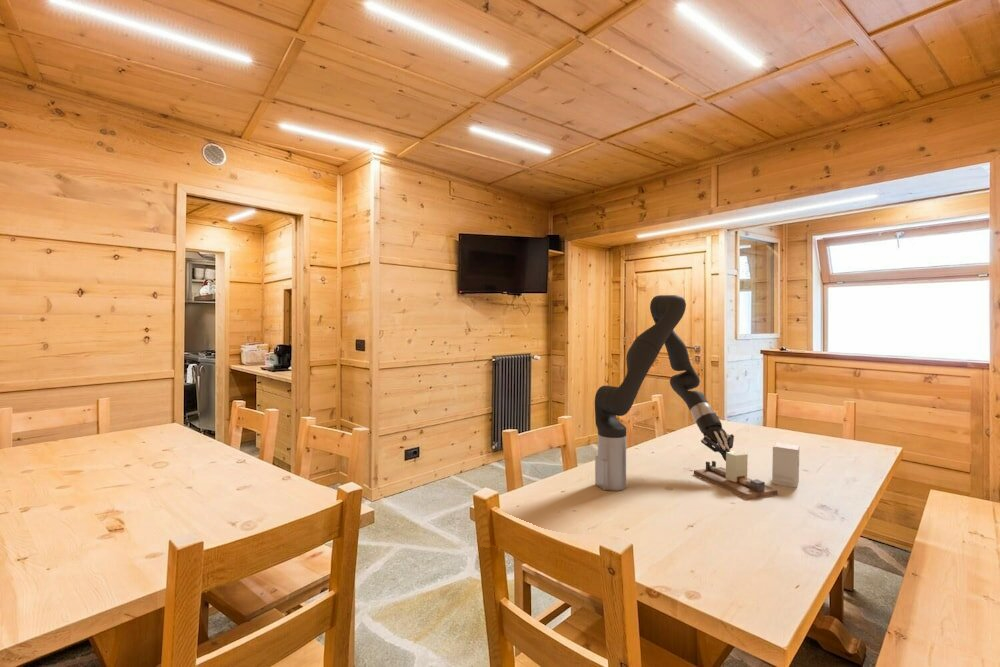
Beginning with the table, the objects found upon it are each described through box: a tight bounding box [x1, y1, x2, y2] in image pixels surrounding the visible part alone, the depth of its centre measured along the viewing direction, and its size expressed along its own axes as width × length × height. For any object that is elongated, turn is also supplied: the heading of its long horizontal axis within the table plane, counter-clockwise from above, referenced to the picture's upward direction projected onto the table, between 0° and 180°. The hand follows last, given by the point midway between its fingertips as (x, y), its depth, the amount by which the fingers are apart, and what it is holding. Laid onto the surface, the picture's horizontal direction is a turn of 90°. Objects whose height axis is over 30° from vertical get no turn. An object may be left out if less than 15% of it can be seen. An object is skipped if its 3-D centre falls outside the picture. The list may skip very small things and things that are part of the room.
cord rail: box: [693, 460, 779, 500], centre depth 156 cm, size 12×24×4 cm, turn 16°
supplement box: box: [771, 442, 800, 488], centre depth 157 cm, size 7×7×13 cm
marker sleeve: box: [725, 450, 748, 482], centre depth 154 cm, size 5×4×9 cm
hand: (730, 461), depth 157 cm, fingers closed
